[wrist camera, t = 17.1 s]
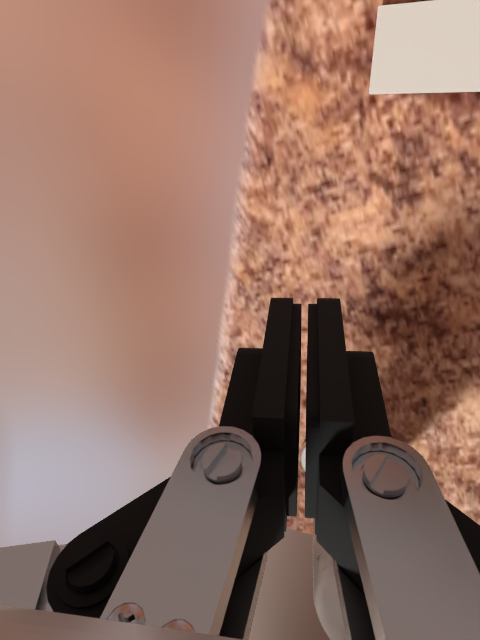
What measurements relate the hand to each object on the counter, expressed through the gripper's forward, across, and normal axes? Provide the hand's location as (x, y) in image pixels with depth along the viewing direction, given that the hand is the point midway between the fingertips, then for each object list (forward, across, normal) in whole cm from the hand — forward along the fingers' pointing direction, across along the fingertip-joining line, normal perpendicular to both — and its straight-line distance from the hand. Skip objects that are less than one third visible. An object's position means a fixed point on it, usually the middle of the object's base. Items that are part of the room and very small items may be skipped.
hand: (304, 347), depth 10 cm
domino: (+26, -4, -6) cm, 27 cm away
